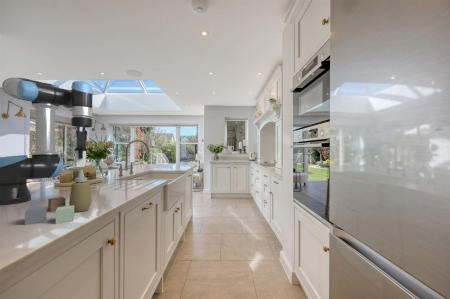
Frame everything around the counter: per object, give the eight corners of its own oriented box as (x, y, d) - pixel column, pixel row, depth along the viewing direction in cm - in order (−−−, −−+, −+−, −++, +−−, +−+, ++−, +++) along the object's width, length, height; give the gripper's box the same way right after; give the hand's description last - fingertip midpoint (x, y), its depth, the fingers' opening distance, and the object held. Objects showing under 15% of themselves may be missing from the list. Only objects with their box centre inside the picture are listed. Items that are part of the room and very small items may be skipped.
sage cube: (57, 220, 79) (58, 207, 79) (74, 218, 81) (74, 205, 81) (55, 224, 74) (55, 210, 74) (72, 221, 77) (73, 208, 77)
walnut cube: (48, 210, 92) (48, 198, 92) (62, 207, 96) (62, 196, 96) (51, 212, 89) (51, 200, 89) (65, 209, 92) (65, 198, 93)
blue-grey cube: (28, 221, 77) (28, 207, 77) (46, 218, 80) (46, 205, 80) (24, 225, 73) (25, 211, 73) (43, 222, 76) (43, 209, 76)
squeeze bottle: (68, 214, 85) (69, 170, 85) (69, 209, 92) (69, 169, 92) (91, 211, 90) (92, 170, 90) (90, 207, 97) (91, 168, 97)
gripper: (74, 120, 100) (73, 164, 99) (68, 112, 79) (67, 167, 78) (92, 121, 104) (92, 164, 103) (91, 114, 83) (91, 167, 82)
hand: (81, 165), depth 91 cm, fingers open, 13 cm apart
